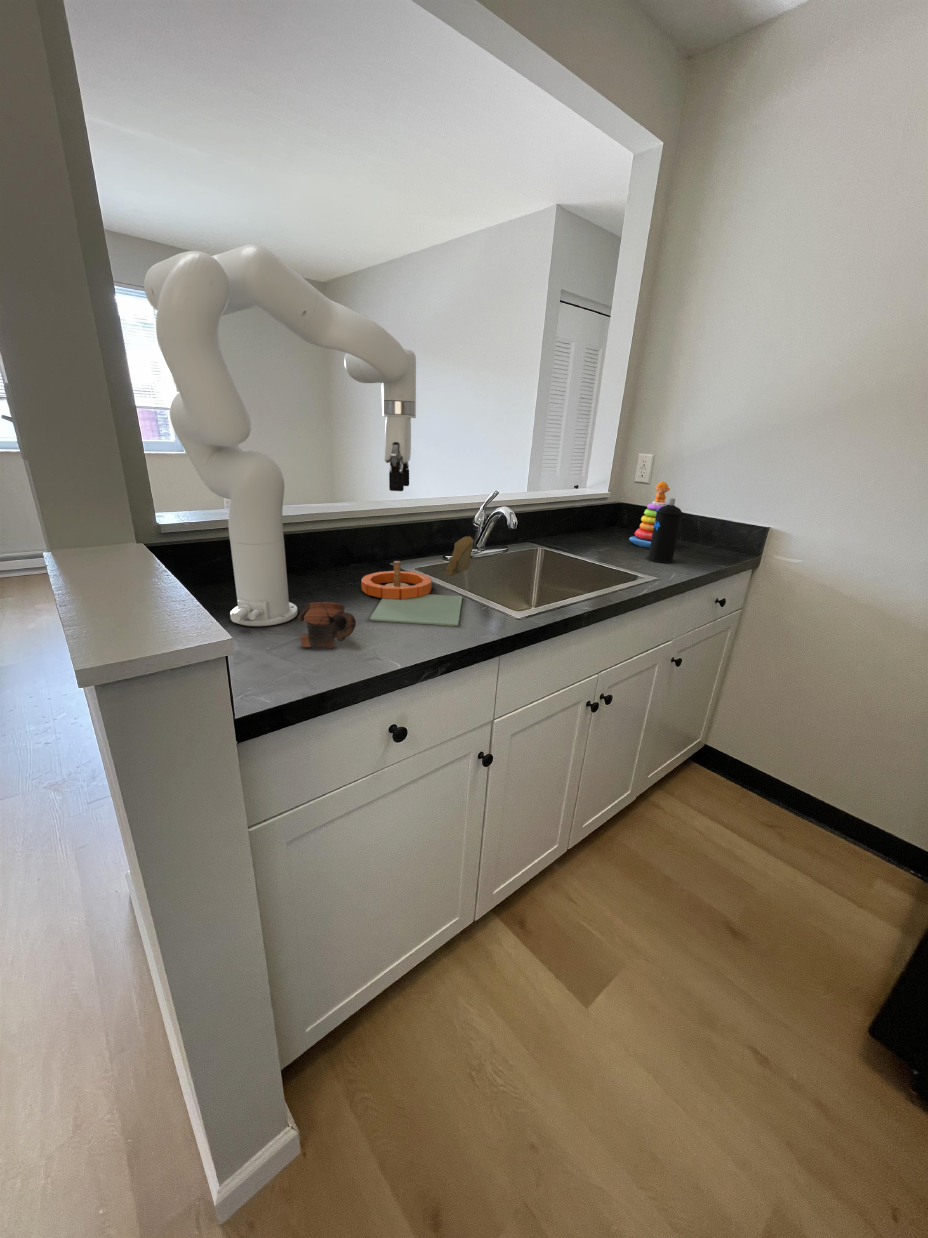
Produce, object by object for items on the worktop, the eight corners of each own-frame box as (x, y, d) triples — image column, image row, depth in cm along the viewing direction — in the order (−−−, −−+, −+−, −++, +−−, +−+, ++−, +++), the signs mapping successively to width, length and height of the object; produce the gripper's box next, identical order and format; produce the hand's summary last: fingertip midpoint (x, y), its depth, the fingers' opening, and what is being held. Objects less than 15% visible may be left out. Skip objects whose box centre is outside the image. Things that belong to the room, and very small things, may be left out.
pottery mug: (284, 648, 87) (286, 602, 88) (320, 653, 95) (321, 611, 97) (341, 645, 82) (342, 596, 84) (373, 650, 91) (373, 606, 92)
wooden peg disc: (407, 594, 117) (407, 565, 114) (382, 592, 117) (382, 564, 115) (411, 587, 122) (411, 559, 120) (387, 585, 123) (387, 557, 120)
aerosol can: (675, 560, 165) (688, 498, 158) (670, 564, 158) (683, 501, 151) (650, 555, 169) (661, 495, 162) (644, 560, 162) (655, 497, 155)
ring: (426, 600, 112) (427, 590, 111) (354, 596, 112) (354, 586, 111) (434, 581, 127) (434, 572, 126) (371, 578, 128) (370, 569, 127)
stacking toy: (675, 546, 185) (688, 482, 177) (661, 551, 176) (674, 484, 168) (641, 540, 194) (652, 478, 185) (626, 544, 185) (637, 479, 176)
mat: (458, 626, 100) (458, 624, 100) (369, 620, 100) (369, 618, 100) (462, 597, 117) (462, 596, 116) (386, 593, 117) (386, 591, 117)
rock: (455, 571, 129) (484, 561, 135) (441, 542, 130) (471, 533, 135) (438, 585, 139) (466, 576, 144) (426, 558, 139) (454, 550, 145)
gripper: (389, 410, 120) (390, 483, 126) (375, 408, 104) (377, 492, 110) (419, 411, 120) (419, 484, 126) (410, 410, 104) (410, 493, 110)
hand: (399, 488), depth 118 cm, fingers open, 9 cm apart
